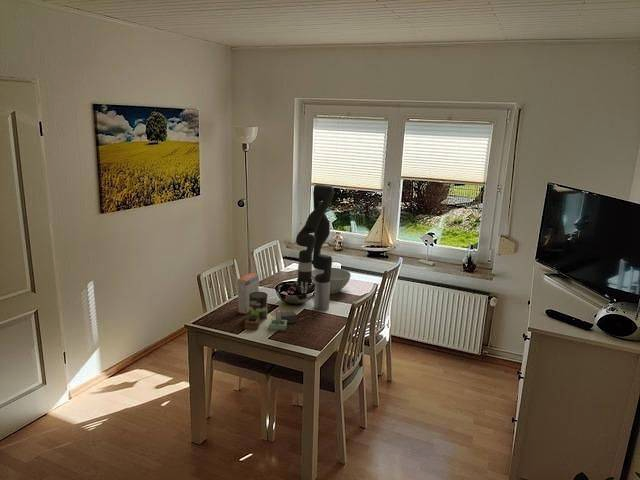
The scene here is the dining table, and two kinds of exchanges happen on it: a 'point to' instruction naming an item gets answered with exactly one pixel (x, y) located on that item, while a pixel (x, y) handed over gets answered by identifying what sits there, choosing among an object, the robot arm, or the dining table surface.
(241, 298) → the cracker box
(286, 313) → the chock
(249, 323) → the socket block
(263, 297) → the coffee can
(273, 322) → the tray
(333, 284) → the decorative bowl
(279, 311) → the pin
